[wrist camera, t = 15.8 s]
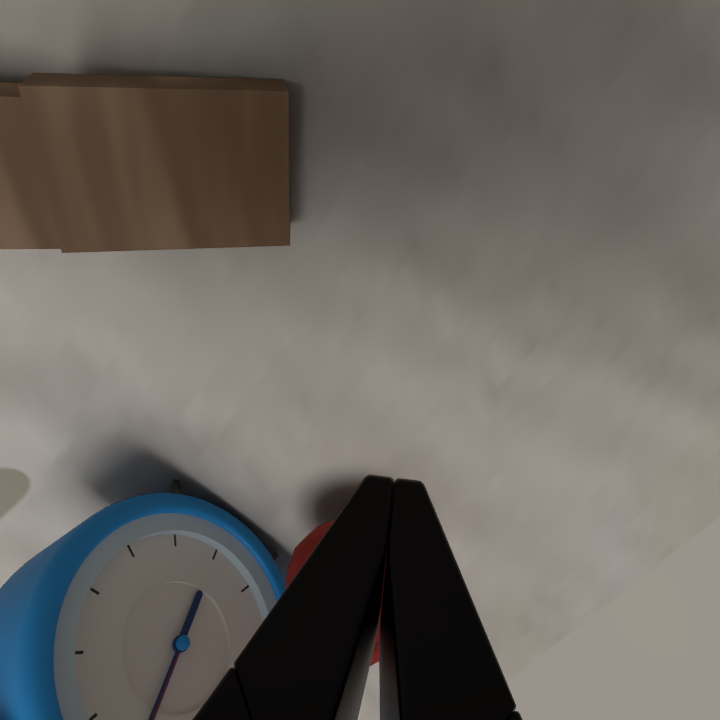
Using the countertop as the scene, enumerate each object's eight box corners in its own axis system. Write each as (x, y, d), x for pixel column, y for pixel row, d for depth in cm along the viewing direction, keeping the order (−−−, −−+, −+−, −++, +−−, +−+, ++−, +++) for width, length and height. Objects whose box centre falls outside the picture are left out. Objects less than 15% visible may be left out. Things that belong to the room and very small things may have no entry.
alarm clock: (328, 577, 32) (251, 967, 20) (255, 609, 35) (149, 966, 22) (135, 432, 27) (-123, 829, 15) (69, 484, 30) (-191, 851, 18)
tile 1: (288, 91, 16) (17, 85, 15) (290, 245, 19) (62, 252, 17) (282, 79, 17) (32, 73, 16) (284, 225, 20) (72, 230, 18)
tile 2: (123, 103, 17) (-160, 86, 15) (139, 248, 19) (-98, 249, 18) (126, 90, 18) (-135, 72, 16) (141, 228, 21) (-81, 227, 19)
